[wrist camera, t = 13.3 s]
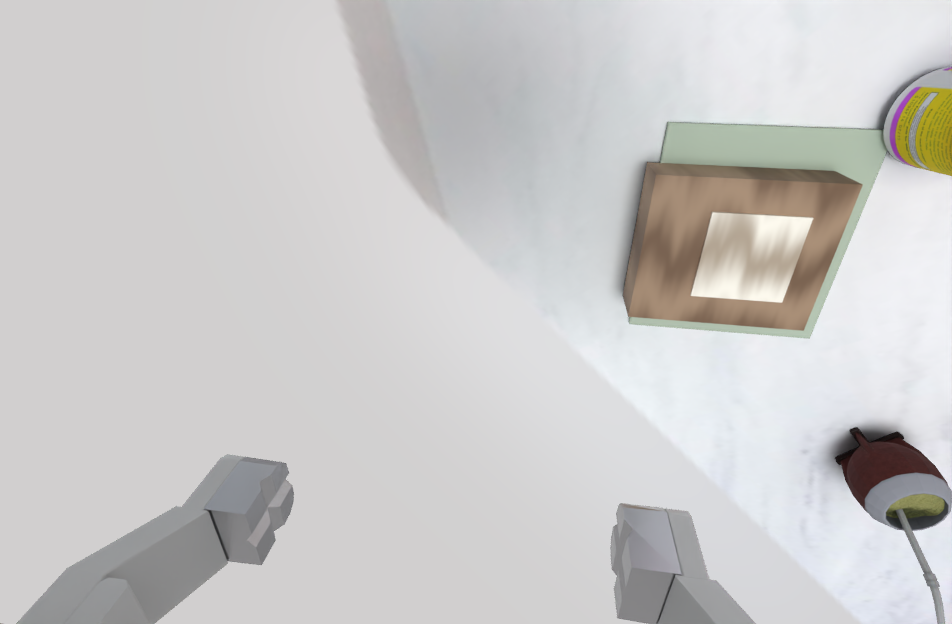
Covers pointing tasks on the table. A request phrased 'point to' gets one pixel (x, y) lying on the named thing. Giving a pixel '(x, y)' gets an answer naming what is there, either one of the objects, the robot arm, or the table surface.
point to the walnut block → (735, 243)
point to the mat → (778, 148)
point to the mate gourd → (899, 491)
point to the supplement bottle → (923, 123)
